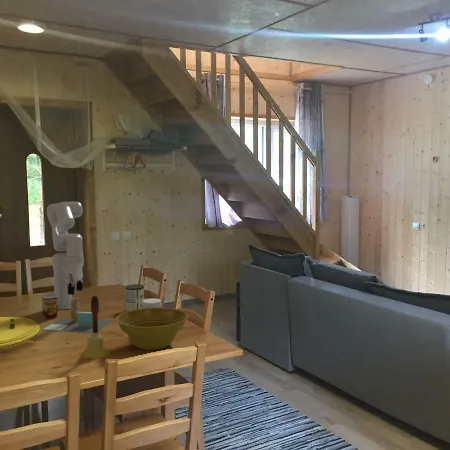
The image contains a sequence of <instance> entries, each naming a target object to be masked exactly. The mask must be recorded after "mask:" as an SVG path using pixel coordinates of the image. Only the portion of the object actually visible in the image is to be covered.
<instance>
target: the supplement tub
mask: <svg viewBox="0 0 450 450" xmlns="http://www.w3.org/2000/svg"><path fill="white" fill-rule="evenodd" d="M143 308H163V307H162V300H161V299H159V298H144V300H143V301H142V309H143Z"/></svg>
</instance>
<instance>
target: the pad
mask: <svg viewBox="0 0 450 450" xmlns="http://www.w3.org/2000/svg"><path fill="white" fill-rule="evenodd" d="M67 326H68V325H60V324H53V323H50V324H49V325H48V326H46V327H44V328H42V331H43V330H51V331H50V332H61V330H62V329H64V328H66V327H67Z"/></svg>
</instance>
